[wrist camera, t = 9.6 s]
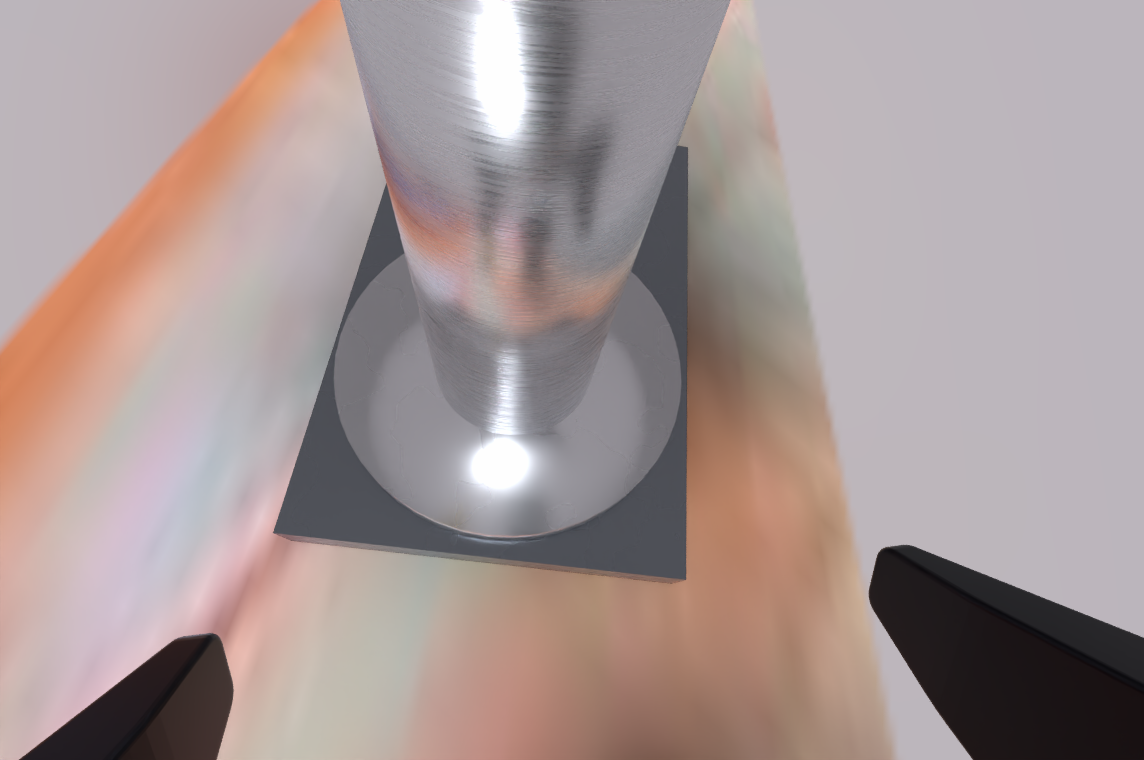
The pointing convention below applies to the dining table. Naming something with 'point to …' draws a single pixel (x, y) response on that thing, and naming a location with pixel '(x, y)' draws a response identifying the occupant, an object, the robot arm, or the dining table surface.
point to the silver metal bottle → (525, 176)
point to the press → (505, 462)
